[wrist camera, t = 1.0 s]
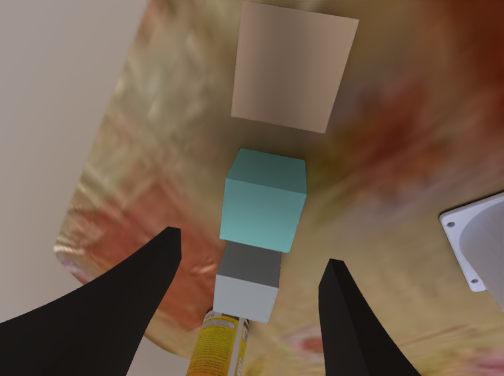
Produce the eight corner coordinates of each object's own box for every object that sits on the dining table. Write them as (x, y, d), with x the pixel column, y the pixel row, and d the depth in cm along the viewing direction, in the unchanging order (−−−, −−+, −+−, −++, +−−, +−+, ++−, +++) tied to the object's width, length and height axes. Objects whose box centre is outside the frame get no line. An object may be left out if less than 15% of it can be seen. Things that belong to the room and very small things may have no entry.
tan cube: (342, 23, 15) (359, 19, 11) (318, 109, 18) (324, 133, 13) (257, 9, 15) (242, 0, 11) (246, 96, 18) (230, 115, 14)
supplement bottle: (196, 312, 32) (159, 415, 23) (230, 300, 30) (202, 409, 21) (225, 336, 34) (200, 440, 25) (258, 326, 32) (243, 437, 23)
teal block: (304, 159, 20) (307, 194, 15) (290, 211, 22) (288, 253, 18) (240, 147, 20) (225, 178, 16) (234, 199, 22) (219, 238, 18)
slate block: (282, 243, 24) (278, 288, 20) (272, 278, 27) (267, 323, 23) (230, 232, 25) (216, 274, 20) (226, 267, 27) (212, 310, 23)
